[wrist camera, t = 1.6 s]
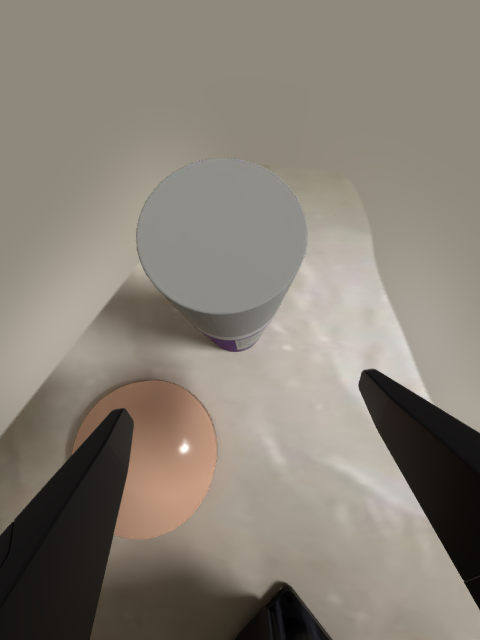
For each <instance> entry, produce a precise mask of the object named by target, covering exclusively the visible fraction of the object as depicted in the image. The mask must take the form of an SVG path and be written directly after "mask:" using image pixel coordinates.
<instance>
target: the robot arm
mask: <svg viewBox="0 0 480 640" xmlns="http://www.w3.org/2000/svg"><path fill="white" fill-rule="evenodd" d="M359 390H360V392H361V395H362V397H363V399H364V402H365V404H366V406H367V408H368V411H369V413H370V415H371V417H372V420H373V422H374V424H375V426H376V428H377V430H378V432H379V434H380V436H381V437H382V439H383V441H384V443H385V444H386V446H387V448H388V450H389V451H390V453H391V455H392V457H393V458H394V460H395V462H396V464H397V465H398V467H399V469H400V471H401V472H402V474H403V476H404V478H405V479H406V481H407V483H408V485H409V486H410V488H411V490H412V492H413V493H414V495H415V497H416V499H417V500H418V502H419V504H420V506H421V507H422V509H423V511H424V513H425V514H426V516H427V518H428V520H429V521H430V523H431V525H432V527H433V529H434V530H435V532H436V534H437V536H438V537H439V539H440V541H441V543H442V544H443V546H444V548H445V550H446V551H447V553H448V555H449V557H450V558H451V560H452V562H453V564H454V565H455V567H456V569H457V571H458V572H459V574H460V576H461V578H462V579H463V580H464V583H465V585H466V587H467V588H468V590H469V592H470V594H471V595H472V597H473V599H474V601H475V603H476V604H477V606H478V608H479V610H480V433H479V432H477V431H476V430H474V429H472V428H471V427H469V426H467V425H466V424H464V423H462V422H461V421H459V420H458V419H456V418H454V417H453V416H451V415H449V414H448V413H446V412H444V411H443V410H441V409H440V408H438V407H436V406H435V405H433V404H431V403H430V402H428V401H427V400H425V399H423V398H422V397H420V396H418V395H417V394H415V393H413V392H412V391H410V390H409V389H407V388H405V387H404V386H402V385H400V384H399V383H397V382H395V381H394V380H392V379H391V378H389V377H387V376H386V375H384V374H382V373H381V372H379V371H377V370H376V369H367V370H363V371H362V373H361V377H360V380H359ZM133 430H134V421H133V419H132V417H131V416H130V414H129V413H128V411H127V410H126V409H125V408H119V409H114V410H112V411H111V412H110V413H109V414H108V415H107V416H106V418H105V419H104V420H103V421H102V422H101V423H100V424H99V425H98V427H97V428H96V429H95V430H94V431H93V432H92V433H91V434H90V436H89V437H88V438H87V439H86V440H85V441H84V442H83V443H82V444H81V446H80V447H79V448H78V449H77V450H76V451H75V452H74V453H73V455H72V456H71V457H70V458H69V459H68V460H67V461H66V462H65V464H64V465H63V466H62V467H61V468H60V469H59V470H58V471H57V472H56V474H55V475H54V476H53V477H52V478H51V479H50V480H49V481H48V483H47V484H46V485H45V486H44V487H43V488H42V489H41V490H40V492H39V493H38V494H37V495H36V496H35V497H34V498H33V499H32V500H31V502H30V503H29V504H28V505H27V506H26V507H25V508H24V509H23V511H22V512H21V513H20V514H19V515H18V516H17V517H16V518H15V520H14V522H12V523H11V524H10V525H9V526H8V527H7V528H6V530H5V531H4V532H3V533H2V534H1V535H0V640H90V635H91V631H92V627H93V622H94V618H95V613H96V609H97V605H98V600H99V596H100V592H101V587H102V583H103V579H104V574H105V570H106V565H107V561H108V557H109V552H110V548H111V544H112V539H113V535H114V531H115V526H116V522H117V517H118V513H119V509H120V504H121V500H122V496H123V491H124V487H125V483H126V478H127V473H128V468H129V462H130V454H131V446H132V438H133ZM287 595H290V597H289V598H286V596H287ZM235 640H332V639H331V637H330V636H329V635H328V633H327V632H326V631H325V630H324V628H323V627H322V626H321V624H320V623H319V622H318V620H317V619H316V618H315V617H314V615H313V614H312V613H311V611H310V610H309V609H308V608H307V606H306V605H305V604H304V602H303V601H302V600H301V599H300V597H299V596H298V595H297V593H296V592H295V591H294V589H293V588H292V587H291V586H284V587H283V588H282V589H281V590H280V591H279V592H278V593H277V594H276V596H275V597H274V598H273V599H272V600H271V601H270V602H269V603H268V604H267V605H266V607H264V608H262V609H261V611H260V612H259V613H258V614H257V615H256V616H255V617H254V618H253V619H252V620H251V622H250V623H249V624H248V625H247V626H246V627H245V628H244V629H243V630H242V631H241V632H240V634H239V635H238V637H237V638H236V639H235Z"/></svg>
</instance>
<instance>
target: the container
mask: <svg viewBox="0 0 480 640" xmlns="http://www.w3.org/2000/svg"><path fill="white" fill-rule="evenodd" d="M136 238H137V239H136V240H137V251H138V255H139V259H140V262H141V264H142V267H143V269H144V271H145V273H146V275H147V276H148V278H149V279H150V281H151V282H152V283H153V284H154V286H155V287H156V288H157V289H158V290H159V291H160V292H161V293H162V294H163V295H164V296H165V297H166V298H167V299H168V300H169V301H170V302H171V303H172V304H173V305H174V306H175V307H176V308H177V309H178V310H179V311H180V312H181V313H182V314H183V315H184V316H185V317H186V318H187V319H188V320H189V321H190V322H191V323H192V324H193V325H194V326H195V327H196V328H197V329H198V330H200V331H201V332H202V333H203V334H205V335H206V336H207V337H208V338H210V339H211V340H212V341H213V342H215V343H216V344H217V345H218V346H220V347H221V348H223V349H225V350H228V351H232V352H240V351H244V350H247V349H249V348H250V347H252V346H253V345H254V344H255V343H256V342H257V341H258V339H259V338H260V336H261V335H262V333H263V332H264V330H265V329H266V327H267V326H268V325H269V323H270V322H271V320H272V319H273V317H274V315H275V314H276V312H277V310H278V308H279V306H280V304H281V302H282V300H283V298H284V297H285V295H286V293H287V291H288V289H289V287H290V285H291V283H292V282H293V280H294V278H295V276H296V274H297V272H298V270H299V268H300V266H301V264H302V262H303V259H304V256H305V252H306V247H307V239H308V231H307V222H306V218H305V214H304V211H303V208H302V206H301V204H300V202H299V200H298V198H297V196H296V195H295V194H294V192H293V191H292V189H291V188H290V187H289V186H288V185H287V184H286V183H285V182H284V181H283V180H282V179H281V178H280V177H279V176H277V175H276V174H274V173H273V172H272V171H270V170H268V169H266V168H264V167H262V166H260V165H258V164H255V163H252V162H249V161H245V160H240V159H234V158H233V159H232V158H214V159H206V160H202V161H198V162H195V163H191V164H189V165H187V166H185V167H182V168H180V169H179V170H177V171H175V172H173V173H172V174H171V175H169V176H168V177H166V178H165V179H164V180H163V181H162V182H161V183H160V184H159V185H158V186H157V187H156V188H155V189H154V190H153V192H152V193H151V194H150V196H149V197H148V199H147V200H146V202H145V204H144V206H143V208H142V211H141V214H140V217H139V220H138V225H137V234H136Z"/></svg>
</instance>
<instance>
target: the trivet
mask: <svg viewBox="0 0 480 640" xmlns="http://www.w3.org/2000/svg"><path fill="white" fill-rule="evenodd" d="M119 408H125V409H126V410H127V411H128V413H129V414H130V416H131V417H132V419H133V421H134V430H133V438H132V446H131V454H130V462H129V468H128V473H127V478H126V483H125V487H124V491H123V496H122V500H121V504H120V509H119V513H118V517H117V522H116V526H115V531H114V535H116V536H119V537H122V538H128V539H148V538H154V537H157V536H160V535H163V534H165V533H168V532H170V531H172V530H174V529H175V528H177V527H178V526H180V525H181V524H182V523H183V522H185V521H186V520H187V519H188V518H189V517H190V516H191V515H192V514H193V513H194V512H195V511H196V510H197V508H198V507H199V505H200V504H201V502H202V501H203V499H204V497H205V495H206V493H207V492H208V489H209V486H210V484H211V481H212V477H213V474H214V470H215V466H216V460H217V438H216V432H215V428H214V425H213V422H212V419H211V417H210V415H209V413H208V411H207V410H206V408H205V407H204V405H203V404H202V403H201V402H200V400H199V399H198V398H197V397H196V396H195V395H193V394H192V393H191V392H190V391H188V390H187V389H185V388H183V387H181V386H179V385H177V384H174V383H171V382H167V381H160V380H148V381H141V382H135V383H132V384H128V385H125V386H123V387H120V388H118V389H116V390H114V391H113V392H111V393H109V394H108V395H107V396H105V397H104V398H103V399H101V400H100V401H99V402H98V403H97V404H96V405H95V406H94V407H93V409H92V410H91V411H90V412H89V413H88V415H87V416H86V418H85V420H84V421H83V423H82V425H81V427H80V429H79V431H78V433H77V436H76V439H75V442H74V446H73V450H72V455H73V453H74V452H75V451H76V450H77V449H78V448H79V447H80V446H81V444H82V443H83V442H84V441H85V440H86V439H87V438H88V437H89V436H90V434H91V433H92V432H93V431H94V430H95V429H96V428H97V427H98V425H99V424H100V423H101V422H102V421H103V420H104V419H105V418H106V416H107V415H108V414H109V413H110V412H111V411H112V410H114V409H119Z"/></svg>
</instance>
